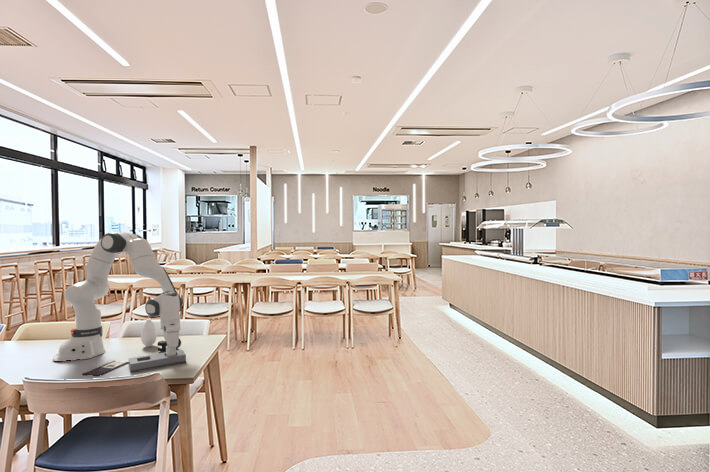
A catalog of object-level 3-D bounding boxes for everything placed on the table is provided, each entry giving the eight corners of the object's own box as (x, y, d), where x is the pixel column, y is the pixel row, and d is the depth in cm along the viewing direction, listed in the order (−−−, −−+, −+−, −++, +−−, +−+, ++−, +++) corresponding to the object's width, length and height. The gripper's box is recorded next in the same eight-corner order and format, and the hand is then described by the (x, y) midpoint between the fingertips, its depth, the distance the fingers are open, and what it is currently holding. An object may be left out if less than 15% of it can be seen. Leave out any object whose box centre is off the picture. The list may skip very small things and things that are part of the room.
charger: (167, 362, 193) (167, 347, 193) (166, 359, 197) (165, 345, 196) (176, 360, 195) (175, 346, 195) (174, 358, 199) (174, 344, 199)
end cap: (167, 355, 207) (167, 342, 207) (156, 353, 209) (156, 341, 209) (181, 349, 217) (181, 337, 217) (171, 348, 219) (170, 336, 219)
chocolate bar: (82, 373, 180) (114, 360, 197) (82, 375, 180) (114, 362, 197) (98, 375, 178) (129, 361, 195) (98, 377, 178) (129, 363, 196)
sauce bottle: (138, 347, 220) (137, 315, 219) (148, 343, 227) (147, 312, 227) (149, 348, 218) (149, 316, 218) (160, 344, 226) (159, 313, 225)
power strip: (130, 372, 182) (130, 364, 182) (128, 366, 190) (128, 358, 190) (186, 362, 195) (185, 354, 195) (182, 357, 204) (182, 349, 203)
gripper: (160, 321, 203) (160, 347, 203) (166, 329, 185) (167, 358, 186) (173, 319, 206) (174, 345, 206) (181, 327, 189) (181, 356, 189)
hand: (170, 352), depth 196 cm, fingers open, 8 cm apart
